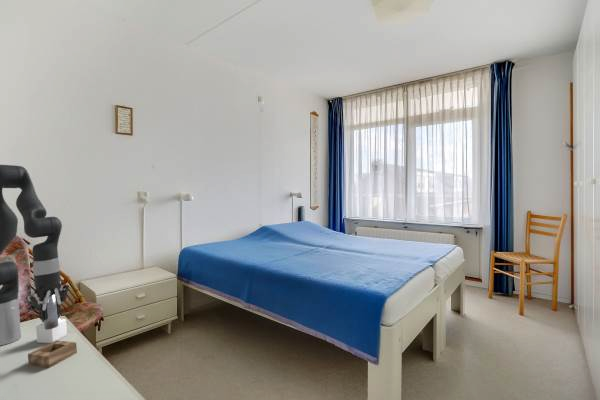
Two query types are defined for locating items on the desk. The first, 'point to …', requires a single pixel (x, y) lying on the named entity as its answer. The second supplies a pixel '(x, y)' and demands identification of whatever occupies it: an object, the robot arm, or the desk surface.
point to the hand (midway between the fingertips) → (50, 317)
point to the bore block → (52, 353)
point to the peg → (51, 313)
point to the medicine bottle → (51, 332)
